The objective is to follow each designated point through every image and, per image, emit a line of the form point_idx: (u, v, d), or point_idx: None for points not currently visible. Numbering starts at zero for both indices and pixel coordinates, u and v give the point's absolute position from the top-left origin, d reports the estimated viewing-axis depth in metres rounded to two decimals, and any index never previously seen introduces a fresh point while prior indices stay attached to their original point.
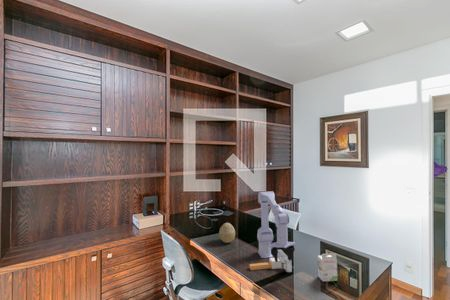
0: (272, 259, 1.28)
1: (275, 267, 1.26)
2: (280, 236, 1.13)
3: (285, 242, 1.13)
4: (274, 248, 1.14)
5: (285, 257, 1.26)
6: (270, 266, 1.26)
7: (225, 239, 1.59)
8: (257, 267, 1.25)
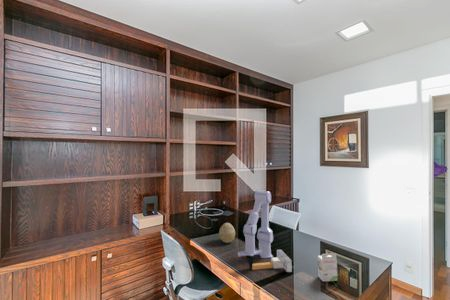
0: (274, 259, 1.28)
1: (277, 267, 1.26)
2: (245, 244, 1.25)
3: (252, 251, 1.23)
4: (248, 255, 1.25)
5: (285, 257, 1.26)
6: (272, 266, 1.26)
7: (225, 239, 1.59)
8: (259, 267, 1.25)
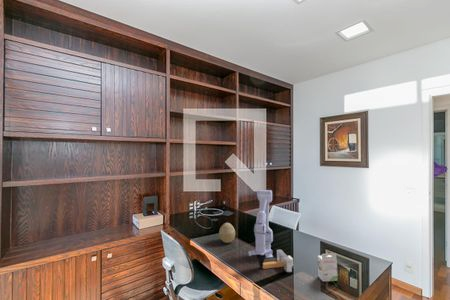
0: None
1: None
2: (256, 243, 1.26)
3: (262, 250, 1.24)
4: (258, 255, 1.26)
5: (285, 257, 1.26)
6: (282, 265, 1.28)
7: (225, 239, 1.59)
8: (269, 266, 1.26)
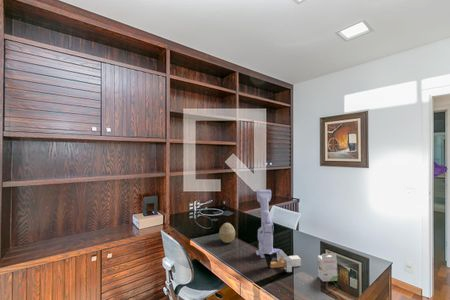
0: (291, 257, 1.30)
1: (294, 265, 1.28)
2: (265, 243, 1.26)
3: (270, 249, 1.25)
4: (266, 254, 1.26)
5: (285, 257, 1.26)
6: None
7: (225, 239, 1.59)
8: (277, 265, 1.27)
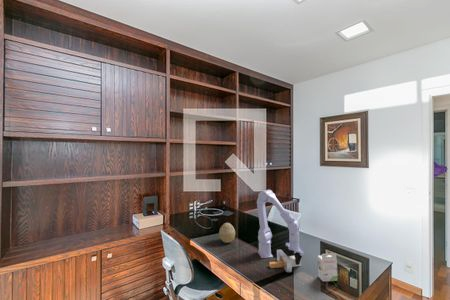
0: (291, 257, 1.30)
1: (295, 265, 1.28)
2: (296, 241, 1.27)
3: (291, 245, 1.29)
4: (289, 248, 1.33)
5: (285, 257, 1.26)
6: None
7: (225, 239, 1.59)
8: (277, 265, 1.27)
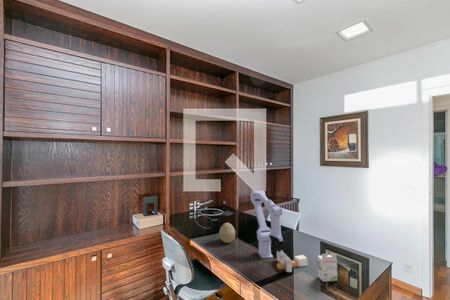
0: (298, 257, 1.30)
1: (302, 265, 1.28)
2: (274, 227, 1.27)
3: (272, 231, 1.28)
4: None
5: (285, 257, 1.26)
6: (297, 264, 1.28)
7: (225, 239, 1.59)
8: None
